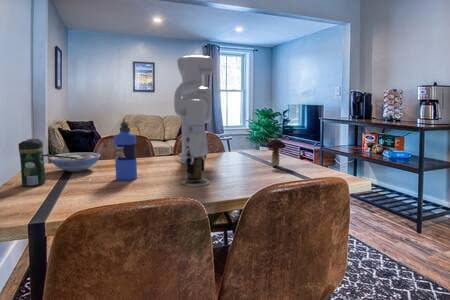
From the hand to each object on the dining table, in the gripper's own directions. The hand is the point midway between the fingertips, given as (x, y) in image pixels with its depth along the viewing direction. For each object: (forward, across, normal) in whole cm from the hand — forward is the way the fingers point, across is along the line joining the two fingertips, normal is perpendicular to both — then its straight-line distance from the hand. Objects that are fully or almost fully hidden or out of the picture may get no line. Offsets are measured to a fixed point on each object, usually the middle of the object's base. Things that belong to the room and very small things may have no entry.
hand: (195, 171), depth 137 cm
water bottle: (+5, -12, +30) cm, 33 cm away
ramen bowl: (+5, -16, +63) cm, 65 cm away
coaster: (+5, 0, 0) cm, 5 cm away
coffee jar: (+5, -41, +52) cm, 66 cm away
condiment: (+3, -1, 0) cm, 3 cm away
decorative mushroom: (+5, +53, -11) cm, 54 cm away
